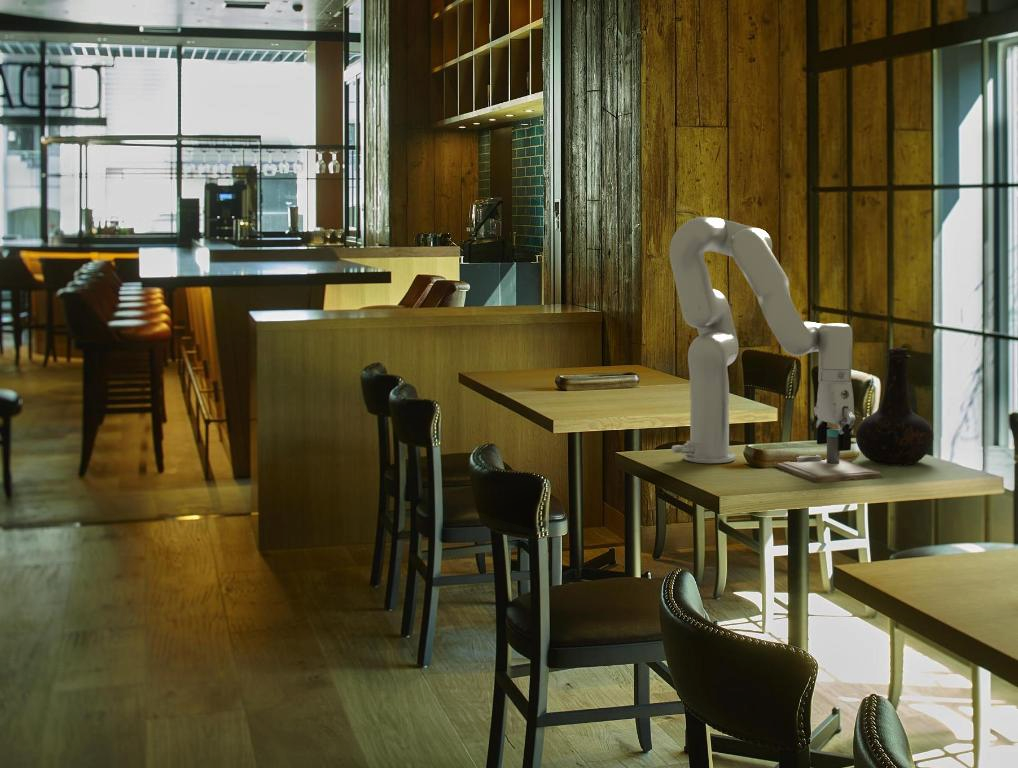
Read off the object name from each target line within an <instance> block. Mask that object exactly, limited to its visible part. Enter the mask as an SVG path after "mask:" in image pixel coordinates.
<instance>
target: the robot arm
mask: <svg viewBox="0 0 1018 768" xmlns="http://www.w3.org/2000/svg"><path fill="white" fill-rule="evenodd" d="M673 234H674V235H673V236H672V238H671V240H670V244H669V260H670V265H671V266H670V267H671V270H672V275H673V278H674V282H675V288H676V293H677V296H678V301H679V305H680V310H681V314H682V317H683V320H684V322H685V323H686V324H687V325H688V326H690V327H691V328H693V329H694V328H695V329H696V330H697V333H698V336H697V337H696V338H694V339H693V341H692V342H691V344H690V345H689V348H688V352H687V363H688V364H687V365H688V371H689V389H690V392H689V393H690V394H689V396H690V407H689V409H690V412H689V413H690V414H689V415H690V417H689V418H690V419H689V420H690V423H689V425H690V426H689V427H690V428H689V429H690V431H689V432H690V436H689V437H690V439H689V440H686V443H683V445H682V444H677V445H672V446H671V452H672V454H680V453H681V454H683V459H684V460H685V461H687V462H690V463H691V462H692V463H698V464H724V463H730V462H733V461H735V460H736V454H735V453H734V452H733V453H732V452H730V381H729V372H728V366H730V365H731V364H733V363H734V362H735V360H736V359H737V357H738V355H739V349H740V348H739V340H738V336H737V331H736V327H735V325H734V324H735V323H734V319H733V316H732V312H731V308H730V304H729V302H728V300H727V298H726V296H725V295H724V294H723V293H722V292H721V291H720V290H717V289H715V288H713V285H712V282H711V279H710V273H709V269H708V267H707V264H706V261H705V258H704V254H705V252H714V253H718V254H722V255H725V256H729V257H731V258H732V259H733V260H734V261H735V264H736V265H737V266H738V268H739V270H740V272H741V273H742V275H743V277H744V278H745V279H746V281H747V283H748V285H749V286H750V288H751V290H752V291H753V293H754V294H755V296H756V298H757V302H758V305H759V306H760V309H761V311H762V314H763V316H764V319H765V321H766V322H767V325H768V327H769V328H770V330H771V332H772V333H773V335H774V336H775V338H776V341H778V343H779V345H780V346H781V348H782V349H783V350H784V351H785V352H786V353H788V354H790V355H791V356H795V357H798V356H799V357H800V356H804V355H807V354H810V353H813V352H818V372H817V373H818V374H817V375H818V376H817V377H818V378H817V379H818V385H817V386H818V388H817V395H816V396H817V397H816V406H815V407H813V413H814V419H815V427H816V444H817V445H827V429H831V427H830V426H829V425H835V426H836V427H837V429H838V430H839V433H840V434H838V451H840V452H844V451H845V452H846V451H848V452H849V451H851V449H852V434H853V430H854V428H855V422H856V416H855V402H854V401H855V399H854V389H853V384H852V354H853V353H852V352H853V350H852V346H853V343H852V342H853V329H852V326H850V325H849V324H847V323H834V322H833V323H817V322H812V321H804V320H803V319H802V317H801V316H800V314H799V312H798V311H797V309H796V306H795V305H794V302H793V301H792V296H791V294H790V281H789V278H788V276H787V274H786V273H785V271H784V270H783V268H782V266H781V265H780V263H779V262H778V260H777V258H776V257H775V255H774V253H773V251H772V250H773V241H772V239H771V236H770V235H769V234H768V233H767V232H766V231H765V230H763V229H761V228H758V227H755V226H750V225H745V224H741V223H739V222H735V221H730V220H728V219H724V218H720V217H715V216H697V217H692V218H690V219H689V220H687V221H685V222H684V223H682V224H681V226H679V227H678V229H677V230H676V231H675V233H673Z"/></svg>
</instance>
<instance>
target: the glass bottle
mask: <svg viewBox="0 0 1018 768" xmlns="http://www.w3.org/2000/svg"><path fill="white" fill-rule="evenodd" d="M885 357H886V358H888V360H887V373H886V379H885V387H884V392H883V397H882V400H881V403H880V406H879V407H878V409H877V410H876V411H875V412H872V413H871V414H869V415H867V416H866V417H864V418H863V419H862V420H861V421H860V422H859V424H858V426H857V429H856V432H855V441H856V446H857V447H858V449H859V451H860V452H861V454H862V455H863V456H864V457H865V458H866V459H868V460H869V461H871V462H873V463H877V464H879V465H885V466H886V465H887V466H912V465H914V464H916V463H919V461H921V460H922V459H923V458H924V457H925V456H926V455H927V454H928V453H929V451H930V450H931V447H932V445H933V443H934V432H933V428H932V427H931V424H929V422H928V421H927V420H926V419H925V418H923V417H922V416H920V415H918V414H916V413H915V412H914V411H913V410H912V408H911V405H910V400H909V399H910V398H909V390H908V389H909V386H908V359H911V355H909V354H908V348H904V347H895V348H891V347H890V348H888V353H887V354H886V355H885Z"/></svg>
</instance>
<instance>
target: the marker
mask: <svg viewBox="0 0 1018 768" xmlns="http://www.w3.org/2000/svg"><path fill="white" fill-rule="evenodd" d="M838 434H840V433H839V430H838V428H830V429H827V444H826V459H827V463H828V464H839V462H840V459H841V458H840V457H841V456H840V455H841V453H840V452H841V451H838Z"/></svg>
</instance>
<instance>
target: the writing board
mask: <svg viewBox="0 0 1018 768" xmlns="http://www.w3.org/2000/svg"><path fill="white" fill-rule="evenodd" d="M815 455H816V456H809V455H799V457H796V458H797V462H790V461H782V462H783V463H778V464H777V467H778V468H777V469H779V468H780V469H779V470H781V469H782V470H781V471H784V470H785V471H784V472H787V473H789V472H790V474H793V475H795V476H797V475H798V476H797V477H800V478H802V477H803V479H806V480H807V481H810V482H813V483H827V482H838V481H839V480H841V481H851V479H854V480H864V478H867V479H878V478H877V477H881V478H883V472H880V471H877V470H874V469H871V468H868V467H866V466H862V465H859V464H856V463H854V462H849V461H847V460H844V459H841V458H840V462H839V464H828V463H827V458H824V459H825V460H822V459H823V456H822V455H819V454H815Z"/></svg>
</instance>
